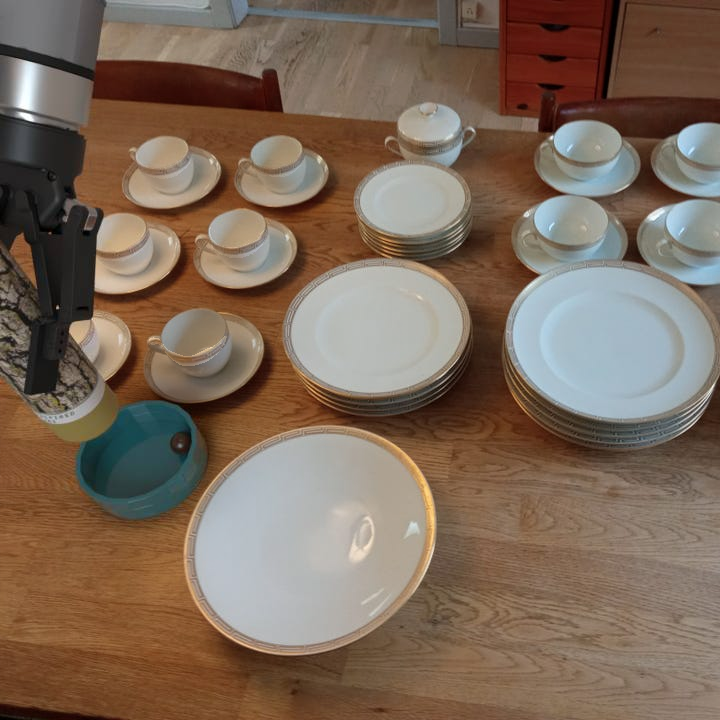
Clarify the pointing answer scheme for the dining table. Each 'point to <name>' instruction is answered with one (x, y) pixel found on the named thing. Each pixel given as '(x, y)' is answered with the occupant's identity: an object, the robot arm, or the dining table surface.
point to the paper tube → (76, 372)
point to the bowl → (142, 461)
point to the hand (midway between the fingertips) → (6, 380)
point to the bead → (181, 442)
